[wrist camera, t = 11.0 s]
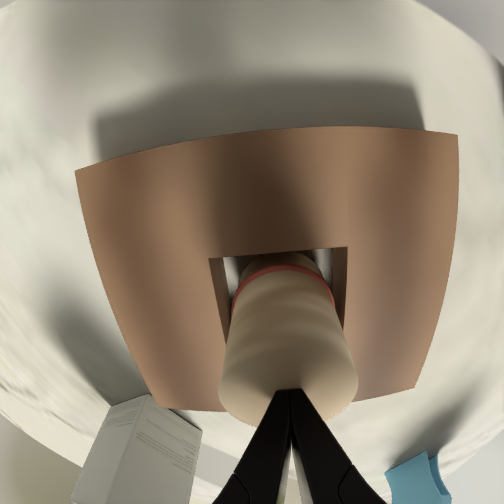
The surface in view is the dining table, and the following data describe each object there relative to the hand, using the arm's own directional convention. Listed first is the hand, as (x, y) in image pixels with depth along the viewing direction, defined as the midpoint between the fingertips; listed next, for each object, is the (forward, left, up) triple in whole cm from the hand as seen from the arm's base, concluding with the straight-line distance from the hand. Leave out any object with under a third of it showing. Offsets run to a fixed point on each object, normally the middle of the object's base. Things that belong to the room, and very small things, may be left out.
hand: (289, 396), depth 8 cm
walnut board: (0, 0, -8) cm, 8 cm away
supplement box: (+13, +15, -8) cm, 22 cm away
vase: (-20, +37, -8) cm, 43 cm away
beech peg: (0, 0, -8) cm, 8 cm away
